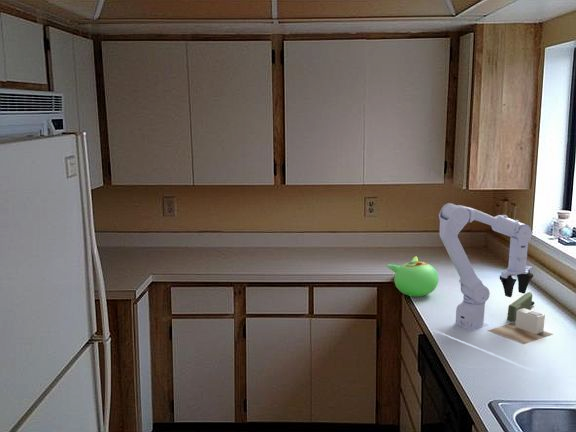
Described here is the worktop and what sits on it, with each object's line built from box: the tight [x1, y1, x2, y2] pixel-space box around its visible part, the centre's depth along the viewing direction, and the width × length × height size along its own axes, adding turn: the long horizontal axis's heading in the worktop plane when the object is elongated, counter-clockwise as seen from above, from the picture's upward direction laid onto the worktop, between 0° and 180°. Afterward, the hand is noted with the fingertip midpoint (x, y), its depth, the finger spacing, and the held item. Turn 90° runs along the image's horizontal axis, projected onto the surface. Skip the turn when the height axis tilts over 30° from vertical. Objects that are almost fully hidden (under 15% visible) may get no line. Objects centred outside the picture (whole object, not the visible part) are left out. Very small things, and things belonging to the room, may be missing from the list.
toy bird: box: [386, 255, 439, 298], centre depth 240 cm, size 18×17×15 cm
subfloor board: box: [486, 321, 554, 345], centre depth 201 cm, size 16×14×1 cm
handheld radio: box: [506, 291, 535, 323], centre depth 220 cm, size 7×3×25 cm
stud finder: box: [515, 308, 546, 334], centre depth 203 cm, size 4×8×6 cm, turn 34°
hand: (515, 294), depth 209 cm, fingers open, 7 cm apart
